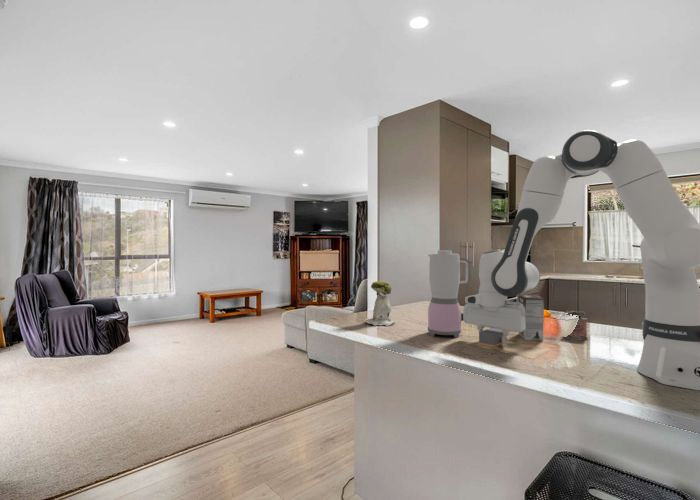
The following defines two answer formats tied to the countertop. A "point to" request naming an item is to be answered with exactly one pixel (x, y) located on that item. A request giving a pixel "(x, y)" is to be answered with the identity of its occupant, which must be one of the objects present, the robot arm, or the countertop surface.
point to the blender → (445, 293)
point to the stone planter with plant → (381, 304)
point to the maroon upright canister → (578, 327)
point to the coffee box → (533, 317)
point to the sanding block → (490, 337)
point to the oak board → (514, 349)
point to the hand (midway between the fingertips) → (492, 341)
